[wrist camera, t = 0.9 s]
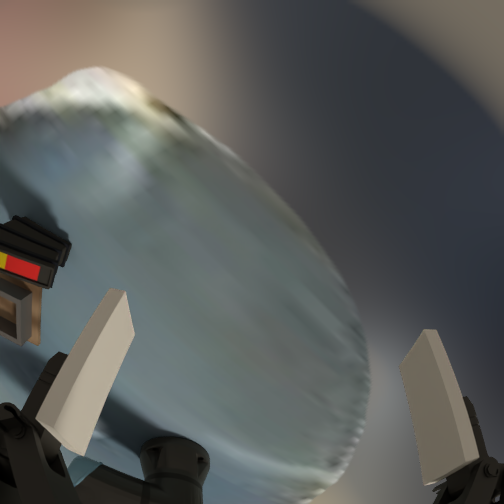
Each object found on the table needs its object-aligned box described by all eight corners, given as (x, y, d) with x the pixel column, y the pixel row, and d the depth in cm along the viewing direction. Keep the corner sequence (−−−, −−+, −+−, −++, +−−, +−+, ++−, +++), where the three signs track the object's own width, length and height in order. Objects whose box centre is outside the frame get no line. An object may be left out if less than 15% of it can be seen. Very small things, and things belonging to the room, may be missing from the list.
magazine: (8, 206, 36) (-20, 238, 24) (73, 232, 44) (70, 271, 32) (2, 227, 36) (-24, 265, 24) (67, 252, 44) (63, 296, 32)
